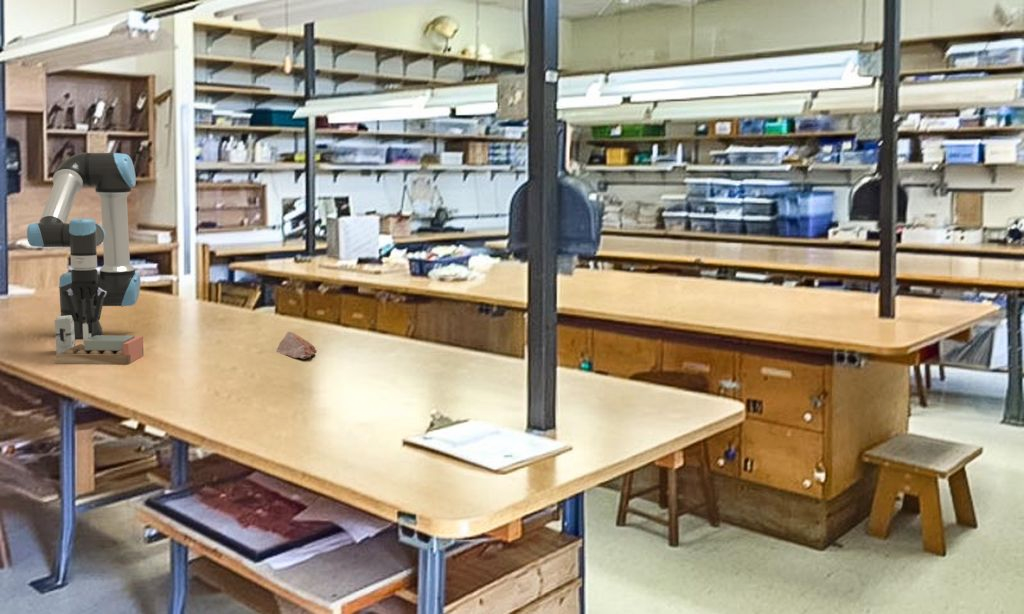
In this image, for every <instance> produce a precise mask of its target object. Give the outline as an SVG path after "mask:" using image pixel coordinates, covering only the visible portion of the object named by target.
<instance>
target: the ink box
mask: <svg viewBox="0 0 1024 614" xmlns="http://www.w3.org/2000/svg"><path fill="white" fill-rule="evenodd" d="M54 334H55V348H56V354H63V352H64V351H66V350H68V349H70V348H72V347H75V346H76V339H75V333H74V321H73V318H72V315H68V316H61V315H60V316H59V315H58V316H57V317H56V318H55V319H54Z"/></svg>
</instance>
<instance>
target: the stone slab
mask: <svg viewBox="0 0 1024 614" xmlns="http://www.w3.org/2000/svg"><path fill="white" fill-rule="evenodd" d="M135 337H136V336H135V335H113V334H112V335H110V334H109V335H108V334H106V335H104V334H102V335H96V336H93V337H91V338H89V339H87V340H85V341H84V344H83V345H84V346H85V350H117V351H120V350H121V351H123V343H125V342H127V341H129V340H131V339H133V338H135Z"/></svg>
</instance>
